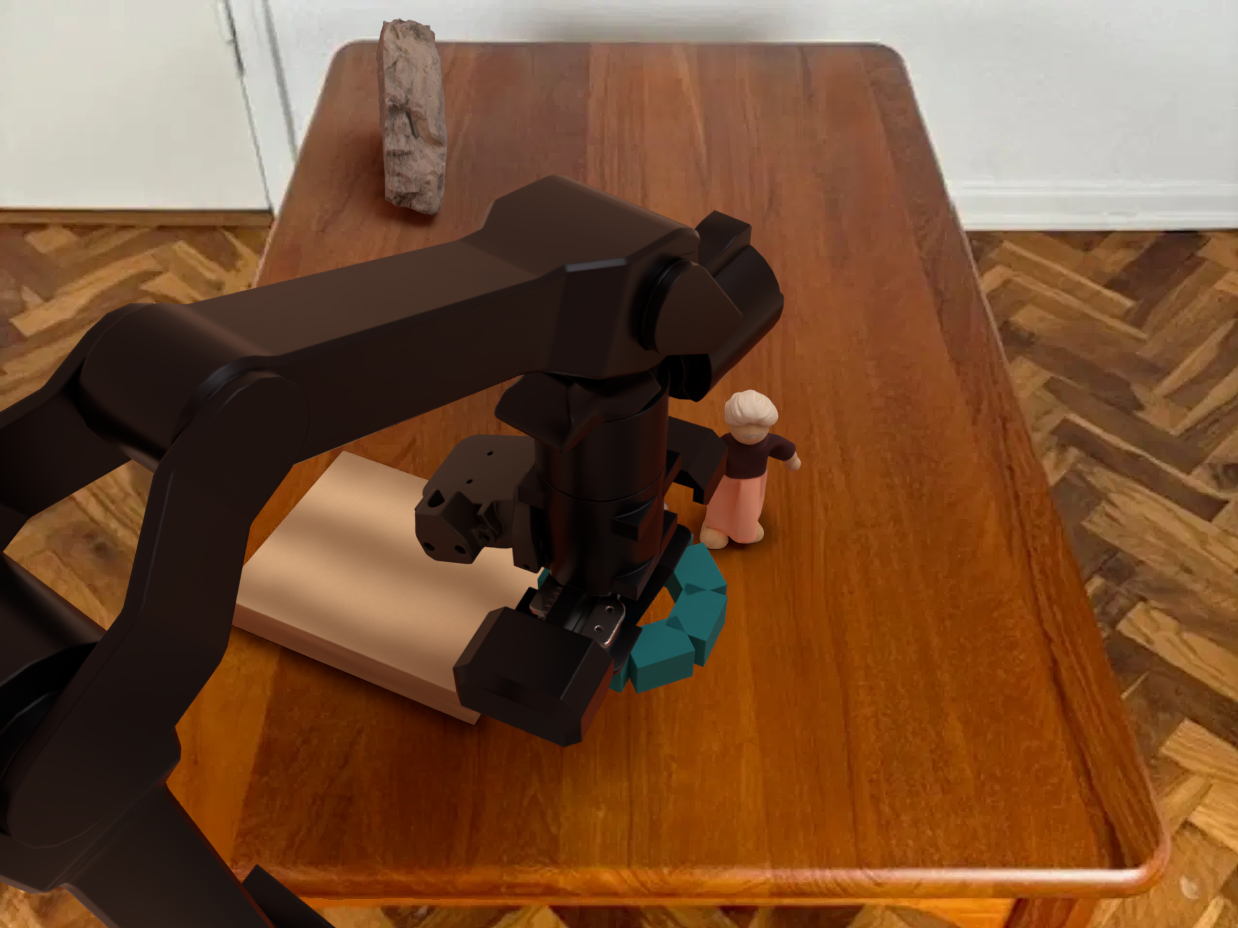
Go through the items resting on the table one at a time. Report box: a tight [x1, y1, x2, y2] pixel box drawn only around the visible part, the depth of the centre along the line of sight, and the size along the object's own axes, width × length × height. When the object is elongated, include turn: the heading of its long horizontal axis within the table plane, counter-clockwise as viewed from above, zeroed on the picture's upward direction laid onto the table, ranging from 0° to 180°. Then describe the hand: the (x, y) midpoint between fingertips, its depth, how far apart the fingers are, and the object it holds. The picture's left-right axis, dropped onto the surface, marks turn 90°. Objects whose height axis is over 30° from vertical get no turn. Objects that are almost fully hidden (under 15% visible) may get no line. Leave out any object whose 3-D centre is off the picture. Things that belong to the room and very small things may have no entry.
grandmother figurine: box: [699, 389, 802, 550], centre depth 78 cm, size 8×4×13 cm, turn 111°
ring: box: [537, 532, 729, 695], centre depth 65 cm, size 10×10×2 cm
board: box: [232, 450, 544, 726], centre depth 77 cm, size 14×18×3 cm
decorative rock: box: [375, 17, 448, 216], centre depth 107 cm, size 16×7×15 cm, turn 8°
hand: (602, 659), depth 63 cm, fingers closed on ring, 2 cm apart
